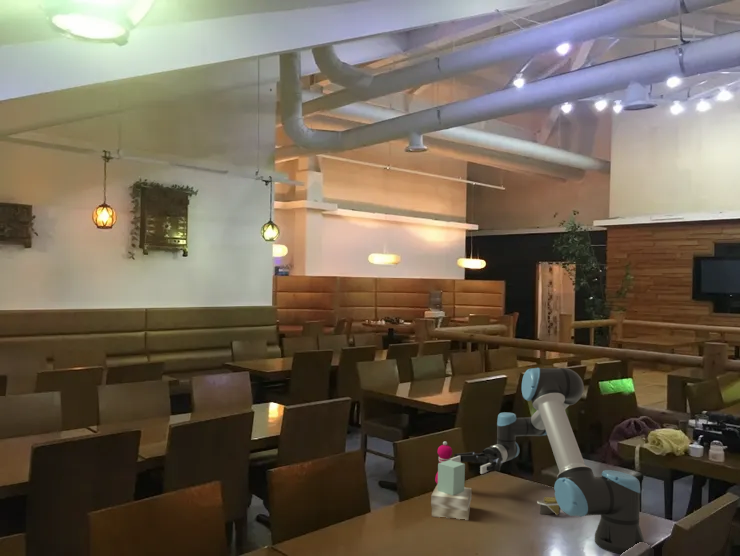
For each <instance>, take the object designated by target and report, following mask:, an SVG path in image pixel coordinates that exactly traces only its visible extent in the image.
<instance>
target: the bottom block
mask: <svg viewBox="0 0 740 556" xmlns="http://www.w3.org/2000/svg"><path fill="white" fill-rule="evenodd" d="M470 509H471V503H470V504H469V507H468V510H467V511H464V510H456V509H448V508H440V507H432V506H431V517H434V518H440V517H446V518H445V519H450V518H456V519H455V520H460V519H465V520H464V521H469V517H470Z"/></svg>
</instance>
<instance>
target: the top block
mask: <svg viewBox="0 0 740 556" xmlns="http://www.w3.org/2000/svg"><path fill="white" fill-rule="evenodd" d="M434 487H435V488H434V489H433V492H432V493H431V495H430V498H431V499H430V507H431V508H432V507H440V508H448V509H456V510H464V511H467V510H468V507H469V504H470V505H471V500H472V494H473V493H472V487H465V486H464V491H463V492H461V493H458V494H456V495H450V494H447V493H443V492H440V491H438V484H437V483H436V486H434Z"/></svg>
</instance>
